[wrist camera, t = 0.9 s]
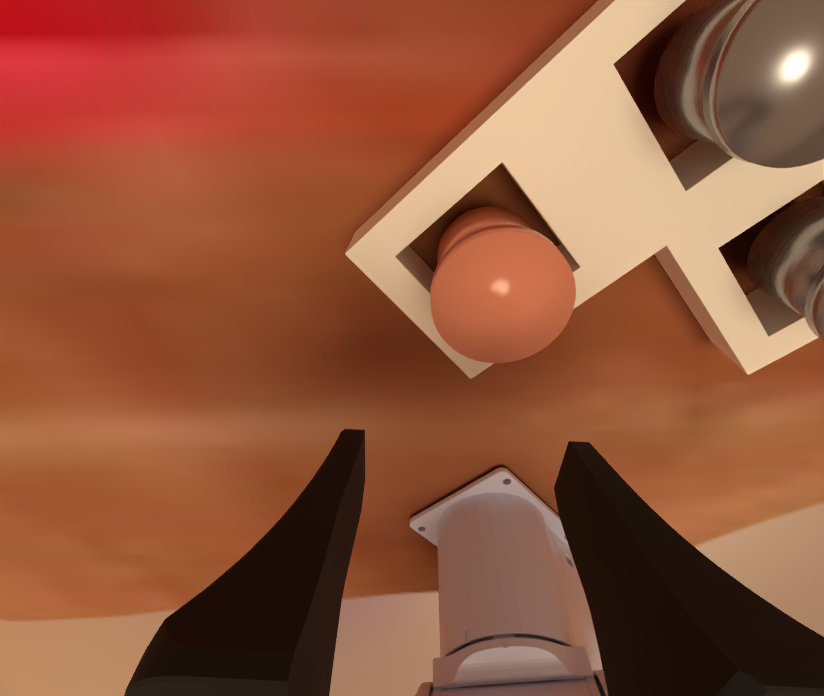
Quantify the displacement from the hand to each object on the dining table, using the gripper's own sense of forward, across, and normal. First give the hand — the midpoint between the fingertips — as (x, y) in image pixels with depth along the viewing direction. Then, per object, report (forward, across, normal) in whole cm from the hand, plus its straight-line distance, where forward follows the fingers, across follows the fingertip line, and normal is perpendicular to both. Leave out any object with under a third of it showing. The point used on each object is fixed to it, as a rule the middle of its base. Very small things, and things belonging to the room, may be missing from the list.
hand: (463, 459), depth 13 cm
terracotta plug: (+7, -1, -4) cm, 9 cm away
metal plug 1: (+7, -8, -11) cm, 15 cm away
